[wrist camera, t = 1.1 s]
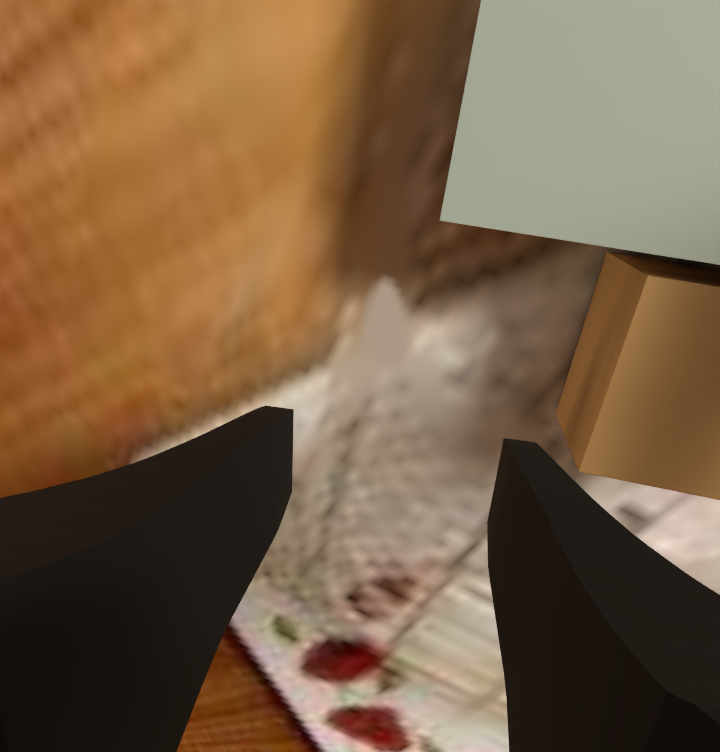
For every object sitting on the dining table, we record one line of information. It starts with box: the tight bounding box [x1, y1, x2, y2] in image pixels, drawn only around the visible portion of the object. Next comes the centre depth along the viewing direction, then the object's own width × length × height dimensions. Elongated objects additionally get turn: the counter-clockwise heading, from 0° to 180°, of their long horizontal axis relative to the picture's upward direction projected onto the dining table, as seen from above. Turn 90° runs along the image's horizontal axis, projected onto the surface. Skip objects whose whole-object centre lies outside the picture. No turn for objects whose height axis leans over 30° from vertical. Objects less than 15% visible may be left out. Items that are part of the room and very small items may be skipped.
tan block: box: [556, 252, 720, 500], centre depth 16 cm, size 5×6×4 cm
